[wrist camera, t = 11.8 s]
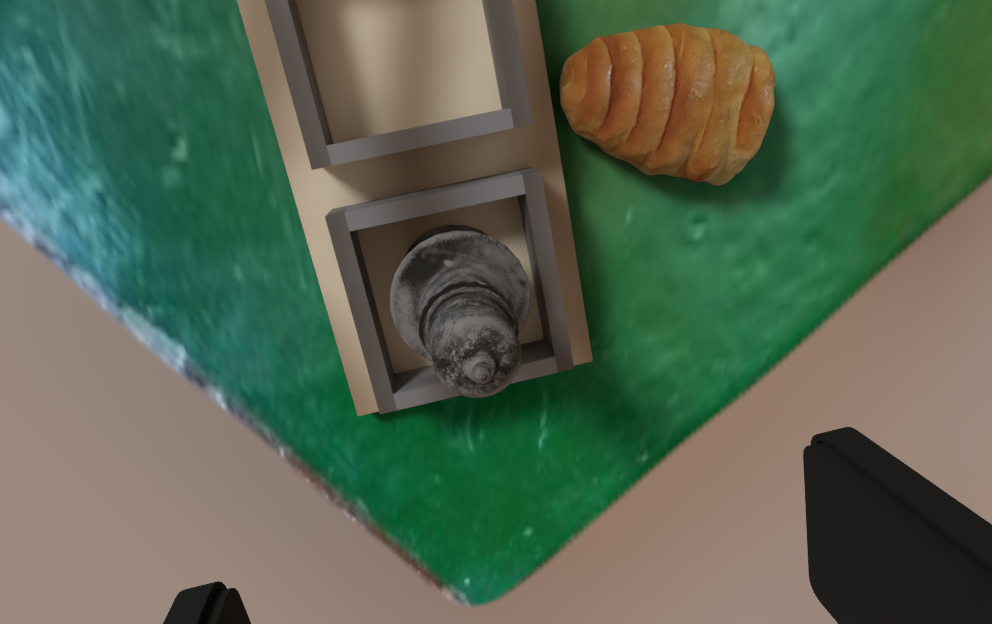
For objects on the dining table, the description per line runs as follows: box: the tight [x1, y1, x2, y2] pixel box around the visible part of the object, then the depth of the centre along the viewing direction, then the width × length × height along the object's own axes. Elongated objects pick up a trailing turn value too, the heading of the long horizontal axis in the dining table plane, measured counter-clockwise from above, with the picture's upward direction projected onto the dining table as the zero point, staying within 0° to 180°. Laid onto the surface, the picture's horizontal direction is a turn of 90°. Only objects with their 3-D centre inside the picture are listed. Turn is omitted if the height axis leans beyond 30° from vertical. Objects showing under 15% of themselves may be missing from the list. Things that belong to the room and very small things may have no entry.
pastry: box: [559, 23, 776, 186], centre depth 28 cm, size 9×7×4 cm
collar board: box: [237, 0, 593, 416], centre depth 28 cm, size 12×22×4 cm, turn 12°
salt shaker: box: [390, 225, 531, 398], centre depth 24 cm, size 6×6×12 cm
